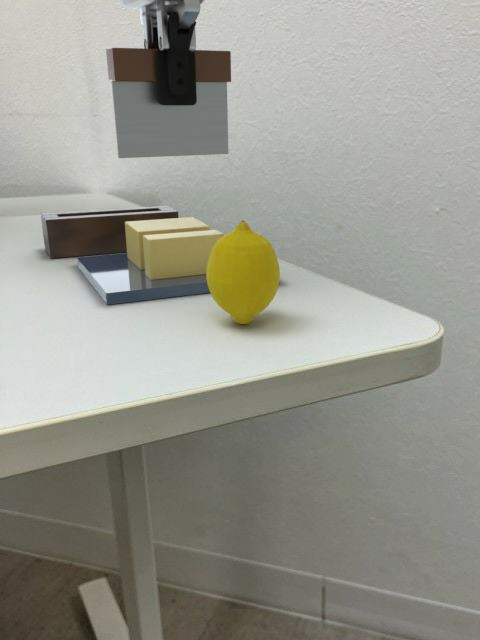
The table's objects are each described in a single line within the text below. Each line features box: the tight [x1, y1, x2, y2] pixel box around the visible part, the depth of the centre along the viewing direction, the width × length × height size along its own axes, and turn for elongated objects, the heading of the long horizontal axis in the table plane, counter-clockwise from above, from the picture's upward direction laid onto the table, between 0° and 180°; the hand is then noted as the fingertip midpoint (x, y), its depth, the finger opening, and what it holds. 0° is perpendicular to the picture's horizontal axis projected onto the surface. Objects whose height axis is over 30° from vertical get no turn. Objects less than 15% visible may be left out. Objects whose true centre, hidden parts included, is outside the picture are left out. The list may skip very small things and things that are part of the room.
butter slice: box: [143, 229, 225, 280], centre depth 60 cm, size 7×2×4 cm, turn 116°
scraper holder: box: [40, 205, 179, 259], centre depth 72 cm, size 14×4×4 cm, turn 116°
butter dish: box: [76, 252, 211, 306], centre depth 63 cm, size 16×13×1 cm
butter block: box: [125, 216, 211, 270], centre depth 64 cm, size 7×5×4 cm
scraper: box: [105, 47, 232, 159], centre depth 56 cm, size 10×2×8 cm, turn 116°
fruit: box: [206, 219, 281, 325], centre depth 50 cm, size 6×6×8 cm
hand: (171, 102), depth 56 cm, fingers closed on scraper, 2 cm apart
